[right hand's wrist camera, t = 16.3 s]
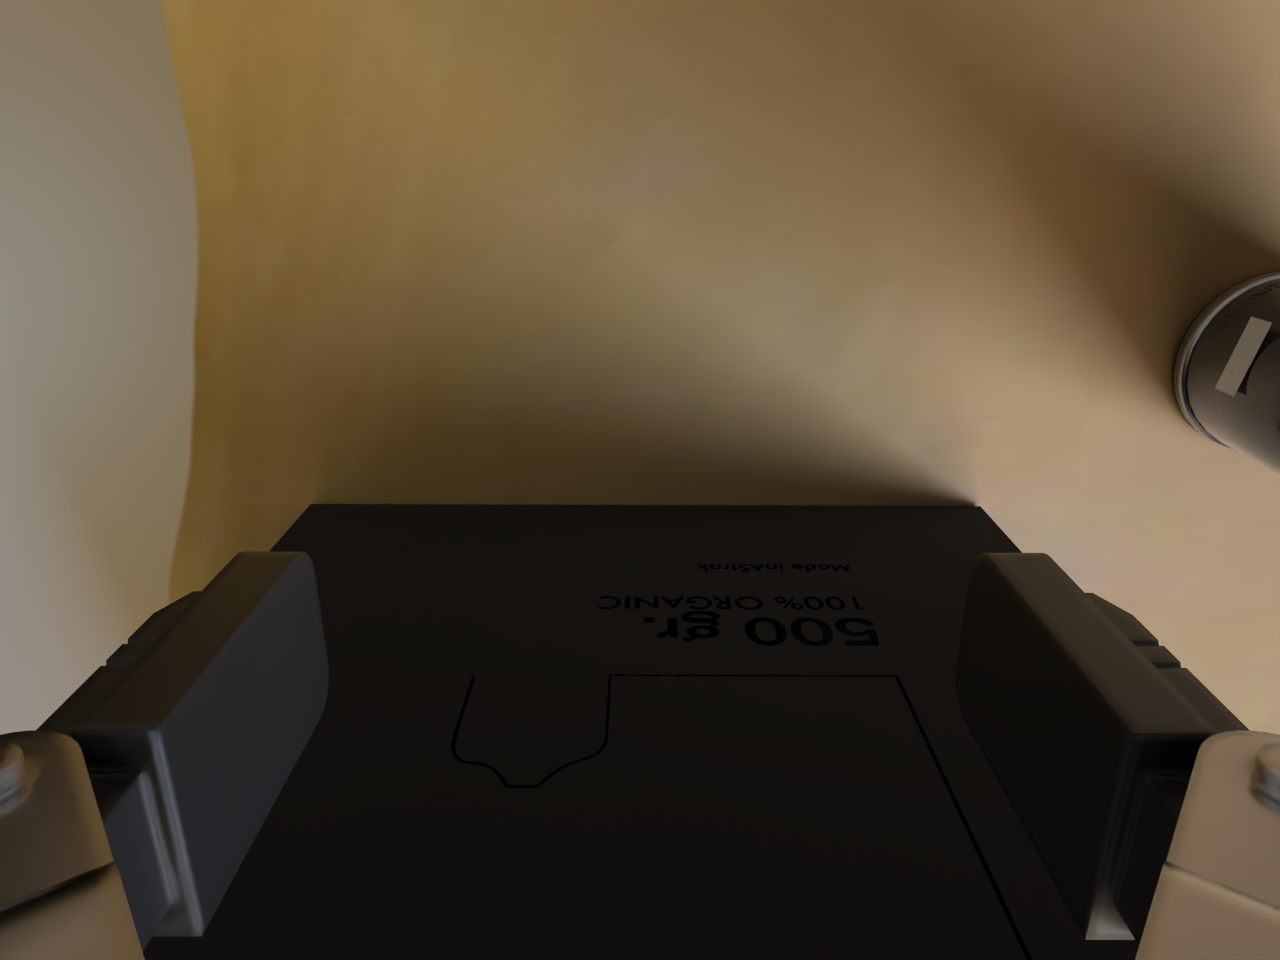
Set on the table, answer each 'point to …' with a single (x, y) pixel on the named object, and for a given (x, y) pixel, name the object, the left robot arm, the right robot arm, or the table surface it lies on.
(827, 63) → the table surface
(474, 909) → the cardboard box
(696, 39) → the table surface
